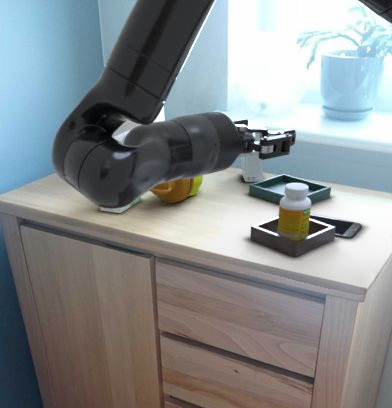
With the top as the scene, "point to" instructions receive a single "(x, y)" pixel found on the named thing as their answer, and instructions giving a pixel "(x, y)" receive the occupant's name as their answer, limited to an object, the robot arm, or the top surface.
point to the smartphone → (340, 226)
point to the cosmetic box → (253, 160)
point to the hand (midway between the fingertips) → (268, 131)
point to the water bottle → (177, 189)
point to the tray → (276, 187)
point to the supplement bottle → (294, 212)
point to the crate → (294, 248)
